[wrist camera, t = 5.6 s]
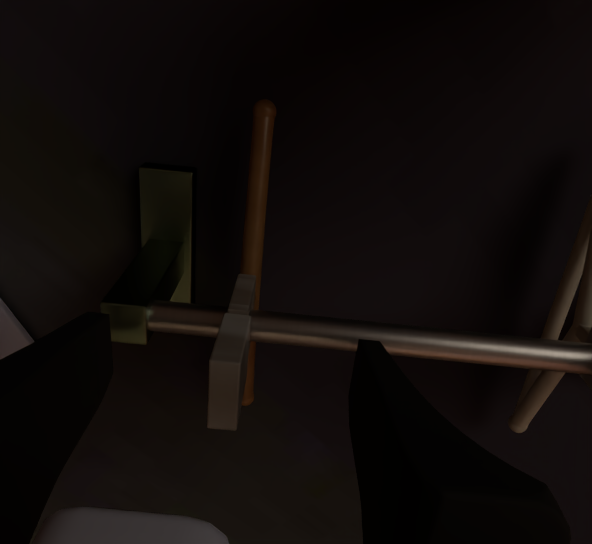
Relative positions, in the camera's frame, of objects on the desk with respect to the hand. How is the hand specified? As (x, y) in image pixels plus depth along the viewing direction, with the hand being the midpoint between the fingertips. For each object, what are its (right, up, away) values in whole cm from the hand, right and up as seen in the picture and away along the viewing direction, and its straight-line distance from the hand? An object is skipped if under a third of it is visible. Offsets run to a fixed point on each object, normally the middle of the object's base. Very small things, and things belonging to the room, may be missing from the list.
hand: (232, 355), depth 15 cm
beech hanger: (0, +3, +6) cm, 7 cm away
